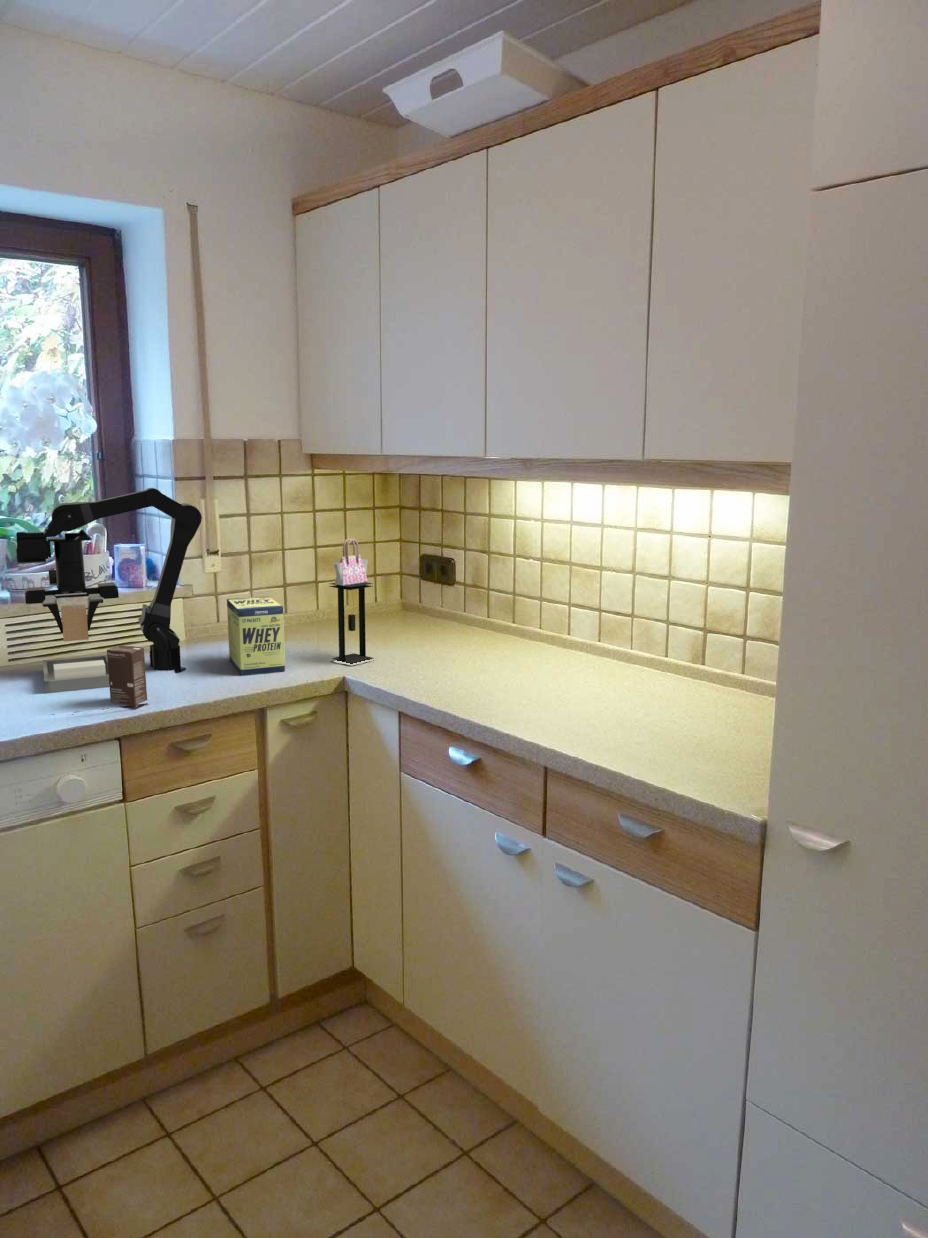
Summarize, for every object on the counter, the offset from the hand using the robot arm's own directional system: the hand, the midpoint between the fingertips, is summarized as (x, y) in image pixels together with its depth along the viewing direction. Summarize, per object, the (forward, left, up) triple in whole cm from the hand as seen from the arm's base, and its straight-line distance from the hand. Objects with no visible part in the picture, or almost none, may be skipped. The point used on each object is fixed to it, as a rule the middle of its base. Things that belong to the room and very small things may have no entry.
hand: (75, 631), depth 204 cm
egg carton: (-7, +5, -10) cm, 13 cm away
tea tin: (0, 0, -2) cm, 2 cm away
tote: (-2, +2, -11) cm, 11 cm away
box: (-26, +9, -11) cm, 29 cm away
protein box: (-27, -29, -11) cm, 41 cm away
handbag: (-44, -44, -11) cm, 63 cm away
